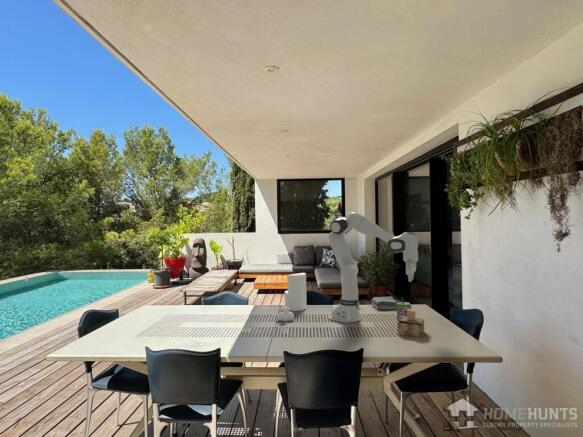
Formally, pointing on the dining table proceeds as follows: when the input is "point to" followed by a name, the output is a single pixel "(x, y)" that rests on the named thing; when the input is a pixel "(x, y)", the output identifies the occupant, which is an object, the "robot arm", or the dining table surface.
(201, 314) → the dining table surface
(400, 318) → the lid
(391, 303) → the towel
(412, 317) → the cube
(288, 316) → the bust
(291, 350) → the dining table surface
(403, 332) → the crate
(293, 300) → the cylinder
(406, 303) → the chalk box
